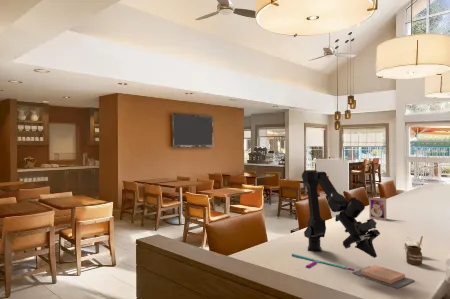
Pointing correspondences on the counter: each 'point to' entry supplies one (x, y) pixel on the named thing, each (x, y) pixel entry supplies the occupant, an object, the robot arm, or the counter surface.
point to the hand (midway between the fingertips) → (375, 257)
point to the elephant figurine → (412, 244)
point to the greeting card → (377, 208)
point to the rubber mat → (396, 284)
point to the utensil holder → (414, 254)
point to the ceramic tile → (383, 274)
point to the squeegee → (318, 262)
